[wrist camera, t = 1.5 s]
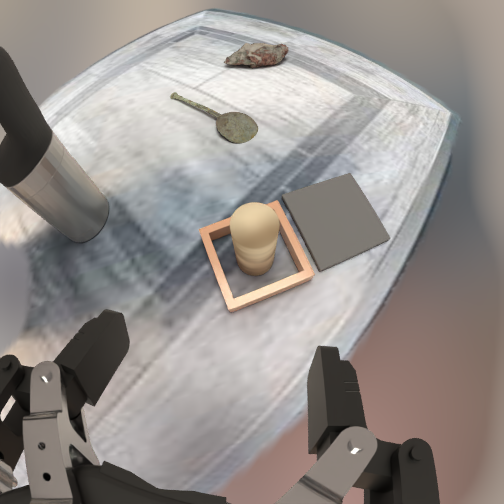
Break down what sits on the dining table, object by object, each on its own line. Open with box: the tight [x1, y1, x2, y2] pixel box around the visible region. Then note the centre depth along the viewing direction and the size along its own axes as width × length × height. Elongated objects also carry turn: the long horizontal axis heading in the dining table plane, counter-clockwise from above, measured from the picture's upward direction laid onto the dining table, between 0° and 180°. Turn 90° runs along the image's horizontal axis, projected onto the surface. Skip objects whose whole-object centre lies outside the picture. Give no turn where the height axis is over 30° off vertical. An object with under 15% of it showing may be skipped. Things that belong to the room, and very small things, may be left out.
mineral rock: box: [224, 43, 288, 68], centre depth 51 cm, size 15×8×4 cm, turn 89°
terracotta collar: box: [199, 200, 315, 312], centre depth 34 cm, size 11×11×2 cm
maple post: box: [230, 203, 280, 276], centre depth 31 cm, size 5×5×10 cm
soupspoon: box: [170, 92, 258, 144], centre depth 45 cm, size 22×3×7 cm
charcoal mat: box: [282, 173, 390, 272], centre depth 37 cm, size 12×12×1 cm
